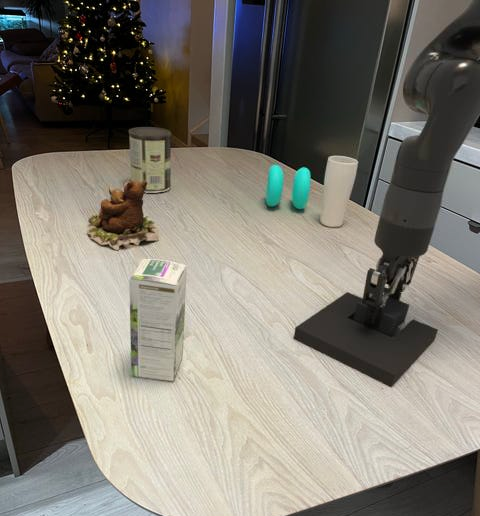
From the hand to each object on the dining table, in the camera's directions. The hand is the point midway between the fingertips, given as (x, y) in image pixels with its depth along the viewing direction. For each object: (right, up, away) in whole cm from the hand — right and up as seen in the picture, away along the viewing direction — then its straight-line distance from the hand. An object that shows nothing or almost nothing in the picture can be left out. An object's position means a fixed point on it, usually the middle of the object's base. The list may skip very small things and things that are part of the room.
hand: (380, 318), depth 78 cm
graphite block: (0, -1, 0) cm, 1 cm away
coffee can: (-45, +34, +51) cm, 76 cm away
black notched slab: (-3, -3, -2) cm, 5 cm away
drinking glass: (0, +22, +40) cm, 45 cm away
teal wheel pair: (-11, +28, +47) cm, 56 cm away
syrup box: (-33, -7, -11) cm, 36 cm away
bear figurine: (-46, +17, +25) cm, 55 cm away
